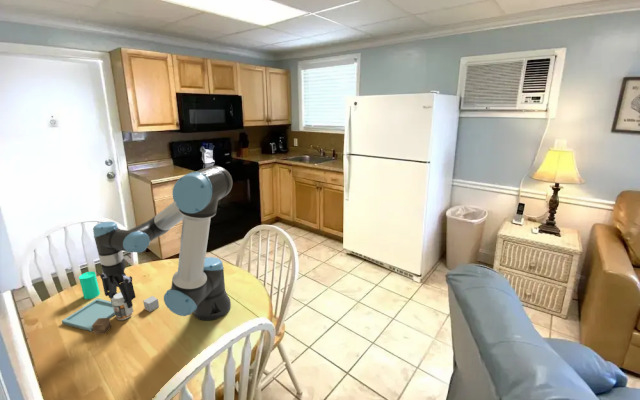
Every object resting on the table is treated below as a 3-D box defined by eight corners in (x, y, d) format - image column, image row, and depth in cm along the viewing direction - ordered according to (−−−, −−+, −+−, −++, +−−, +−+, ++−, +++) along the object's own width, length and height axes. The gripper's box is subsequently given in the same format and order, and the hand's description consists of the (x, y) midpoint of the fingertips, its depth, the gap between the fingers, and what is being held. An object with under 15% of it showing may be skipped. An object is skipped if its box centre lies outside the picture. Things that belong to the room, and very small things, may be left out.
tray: (125, 307, 132) (124, 304, 132) (91, 331, 118) (91, 328, 118) (98, 301, 136) (97, 298, 135) (62, 323, 122) (61, 320, 122)
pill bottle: (125, 321, 123) (120, 300, 120) (112, 319, 124) (107, 298, 121) (135, 312, 129) (131, 292, 126) (123, 310, 130) (119, 290, 127)
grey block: (159, 306, 133) (157, 299, 132) (150, 312, 130) (148, 303, 129) (153, 303, 135) (152, 295, 134) (144, 308, 132) (143, 300, 131)
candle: (96, 290, 144) (90, 267, 140) (102, 294, 141) (97, 270, 137) (81, 296, 139) (75, 273, 135) (87, 301, 136) (81, 277, 132)
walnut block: (111, 326, 121) (109, 317, 120) (105, 333, 118) (103, 325, 116) (100, 326, 121) (98, 318, 120) (94, 334, 117) (91, 325, 116)
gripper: (139, 260, 120) (149, 310, 127) (102, 253, 125) (114, 302, 132) (123, 269, 113) (134, 322, 120) (84, 262, 118) (97, 313, 125)
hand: (123, 312), depth 126 cm, fingers closed on pill bottle, 5 cm apart
